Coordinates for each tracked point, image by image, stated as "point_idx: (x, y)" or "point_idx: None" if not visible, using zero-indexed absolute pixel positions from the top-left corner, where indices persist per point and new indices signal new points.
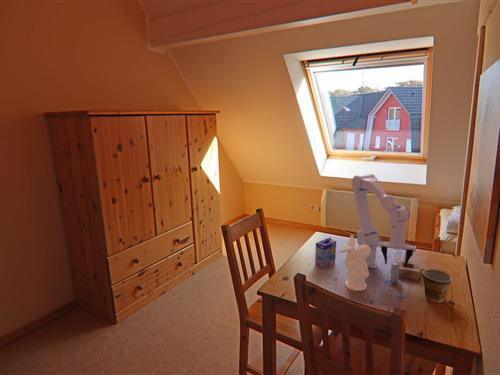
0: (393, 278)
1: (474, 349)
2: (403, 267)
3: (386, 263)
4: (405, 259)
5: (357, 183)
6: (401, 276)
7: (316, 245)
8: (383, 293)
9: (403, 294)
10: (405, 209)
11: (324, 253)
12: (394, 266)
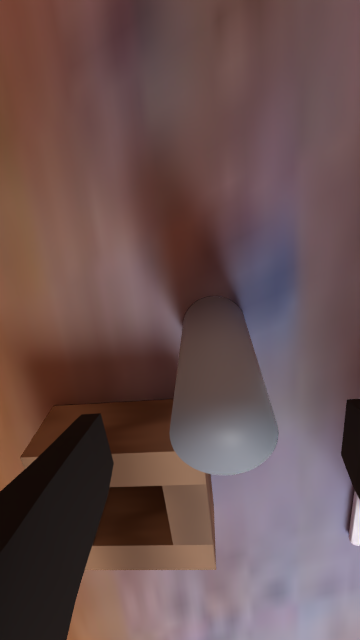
0: (221, 310)
1: None
2: (153, 480)
3: (357, 404)
4: (63, 532)
5: None
6: (168, 403)
7: None
8: (299, 13)
9: (111, 109)
10: None
11: None
12: (231, 384)
